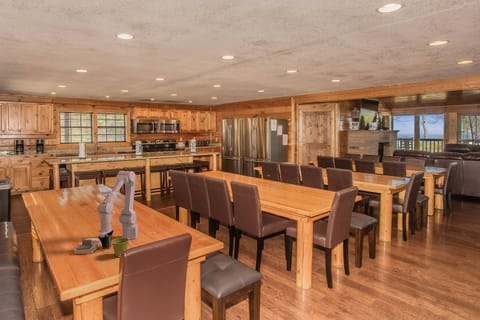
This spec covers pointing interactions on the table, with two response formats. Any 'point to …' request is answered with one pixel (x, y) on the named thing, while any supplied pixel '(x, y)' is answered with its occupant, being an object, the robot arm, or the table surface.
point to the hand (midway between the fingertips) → (106, 244)
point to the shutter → (85, 244)
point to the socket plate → (95, 245)
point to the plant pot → (119, 245)
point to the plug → (108, 242)
